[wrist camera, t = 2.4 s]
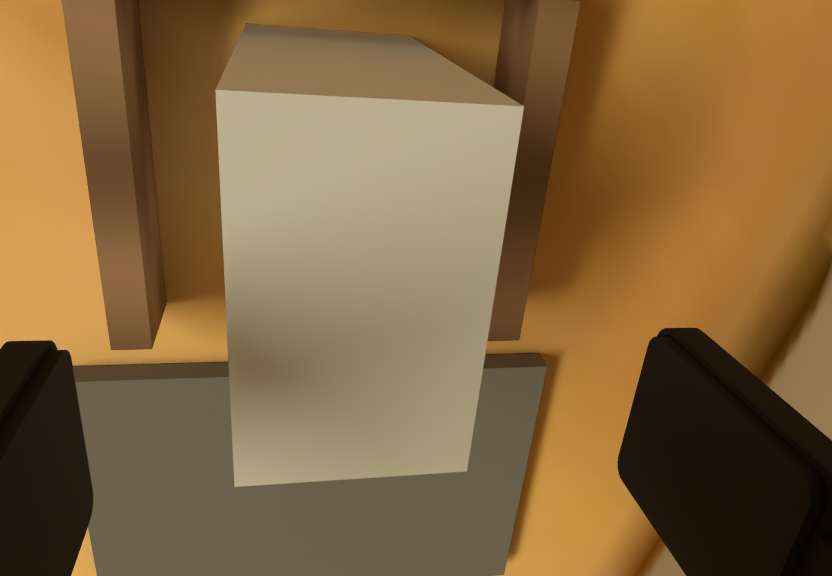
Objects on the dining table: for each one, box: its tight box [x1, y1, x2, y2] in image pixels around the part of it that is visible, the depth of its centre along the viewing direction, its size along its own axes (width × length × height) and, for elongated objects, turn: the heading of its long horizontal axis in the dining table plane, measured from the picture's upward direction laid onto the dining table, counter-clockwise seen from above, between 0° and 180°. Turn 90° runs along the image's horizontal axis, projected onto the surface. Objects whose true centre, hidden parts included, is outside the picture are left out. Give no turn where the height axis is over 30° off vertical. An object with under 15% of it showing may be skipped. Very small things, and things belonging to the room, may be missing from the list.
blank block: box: [215, 23, 524, 487], centre depth 17 cm, size 8×5×11 cm, turn 175°
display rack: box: [62, 0, 581, 350], centre depth 20 cm, size 12×13×3 cm
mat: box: [73, 353, 547, 576], centre depth 28 cm, size 12×18×1 cm, turn 85°
